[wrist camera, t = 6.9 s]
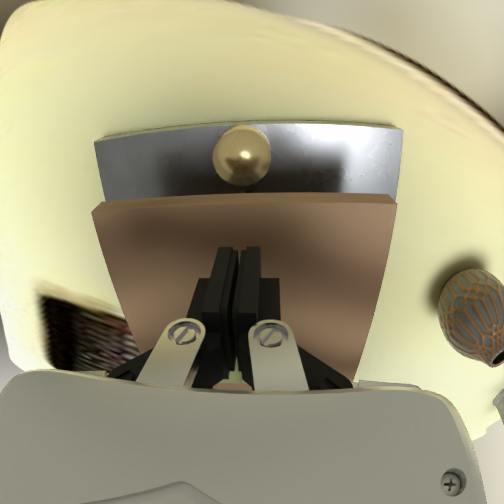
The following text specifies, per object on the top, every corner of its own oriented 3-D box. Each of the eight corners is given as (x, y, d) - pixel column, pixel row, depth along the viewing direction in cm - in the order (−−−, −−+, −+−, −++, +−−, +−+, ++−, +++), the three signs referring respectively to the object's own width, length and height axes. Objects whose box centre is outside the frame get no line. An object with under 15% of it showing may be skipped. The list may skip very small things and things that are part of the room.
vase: (463, 243, 21) (519, 313, 14) (497, 273, 23) (543, 335, 15) (414, 302, 25) (450, 380, 17) (453, 323, 26) (486, 389, 19)
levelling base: (346, 375, 30) (354, 419, 25) (170, 375, 31) (160, 417, 27) (394, 126, 17) (434, 146, 12) (104, 136, 18) (59, 160, 13)
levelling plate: (333, 411, 24) (337, 442, 21) (178, 409, 25) (171, 439, 22) (385, 191, 14) (412, 221, 11) (105, 198, 15) (73, 228, 12)
